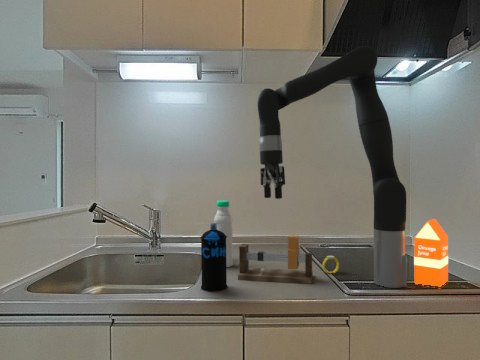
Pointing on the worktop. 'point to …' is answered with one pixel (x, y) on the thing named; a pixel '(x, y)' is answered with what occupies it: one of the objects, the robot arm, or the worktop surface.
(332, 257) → the watch
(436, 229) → the orange juice
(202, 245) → the aerosol can
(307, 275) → the rig
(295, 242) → the collar
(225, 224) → the water bottle
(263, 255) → the grey square bar
